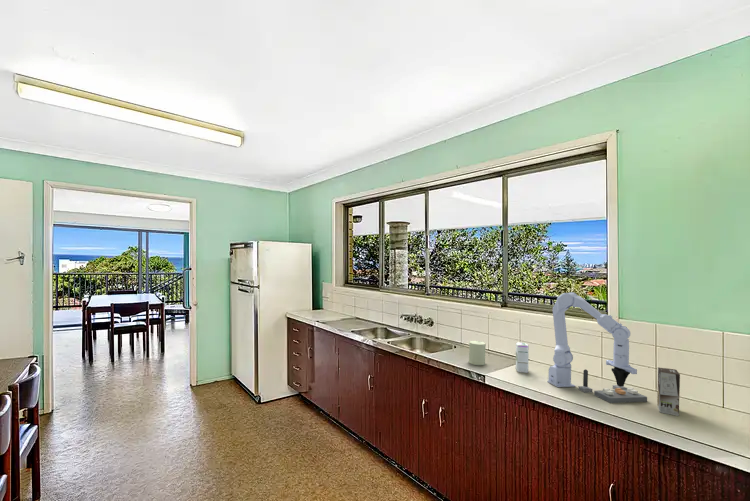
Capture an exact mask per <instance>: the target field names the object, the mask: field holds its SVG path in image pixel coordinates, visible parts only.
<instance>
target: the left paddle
mask: <svg viewBox="0 0 750 501" xmlns="http://www.w3.org/2000/svg"><path fill="white" fill-rule="evenodd" d="M602 390H603V392H604V393H606V394H608V395H614V392H613V391H611V390H612V389H610V388H607V387H606V388H602Z"/></svg>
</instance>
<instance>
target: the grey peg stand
mask: <svg viewBox="0 0 750 501" xmlns="http://www.w3.org/2000/svg"><path fill="white" fill-rule="evenodd" d="M582 375H583V376H582V377H583V378H582V381H583V382H582V385H579V386H577V387H578V388H577V389H578V390H579V391H580V392H583V393H593V388H591V387H589V384H588V383H589V371H588V370H587V369H584V370H583V374H582Z"/></svg>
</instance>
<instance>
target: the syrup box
mask: <svg viewBox="0 0 750 501" xmlns="http://www.w3.org/2000/svg"><path fill="white" fill-rule="evenodd" d="M529 360H530V358H529V344H527V343H526V342H516V343H515V370H516V372H518V373H529Z"/></svg>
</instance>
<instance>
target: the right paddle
mask: <svg viewBox="0 0 750 501" xmlns="http://www.w3.org/2000/svg"><path fill="white" fill-rule="evenodd" d="M626 388H627V392H629V393H632V394H638V393H639V391H638V390H636V389H634V387H626Z"/></svg>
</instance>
